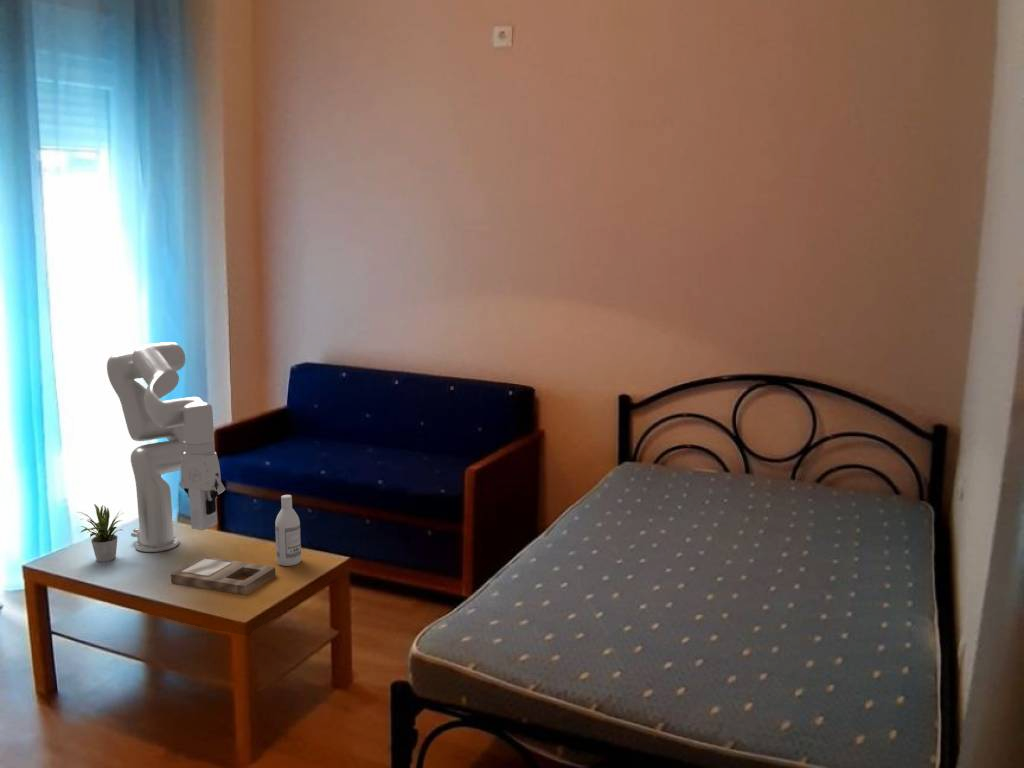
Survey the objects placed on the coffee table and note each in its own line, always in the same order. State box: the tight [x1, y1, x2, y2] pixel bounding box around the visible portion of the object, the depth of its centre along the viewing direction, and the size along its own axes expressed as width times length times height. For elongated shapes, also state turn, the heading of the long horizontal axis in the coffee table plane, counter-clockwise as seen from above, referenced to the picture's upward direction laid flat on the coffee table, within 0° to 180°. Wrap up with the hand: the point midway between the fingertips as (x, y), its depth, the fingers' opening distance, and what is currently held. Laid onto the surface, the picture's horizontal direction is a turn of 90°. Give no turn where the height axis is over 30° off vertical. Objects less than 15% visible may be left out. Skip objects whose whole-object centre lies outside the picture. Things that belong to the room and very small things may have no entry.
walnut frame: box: [170, 555, 277, 596], centre depth 256 cm, size 24×14×3 cm, turn 71°
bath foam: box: [274, 494, 302, 567], centre depth 267 cm, size 7×7×20 cm
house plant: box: [77, 503, 124, 563], centre depth 270 cm, size 14×14×16 cm
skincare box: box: [188, 487, 218, 531], centre depth 254 cm, size 6×4×12 cm
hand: (203, 511), depth 255 cm, fingers closed on skincare box, 4 cm apart
